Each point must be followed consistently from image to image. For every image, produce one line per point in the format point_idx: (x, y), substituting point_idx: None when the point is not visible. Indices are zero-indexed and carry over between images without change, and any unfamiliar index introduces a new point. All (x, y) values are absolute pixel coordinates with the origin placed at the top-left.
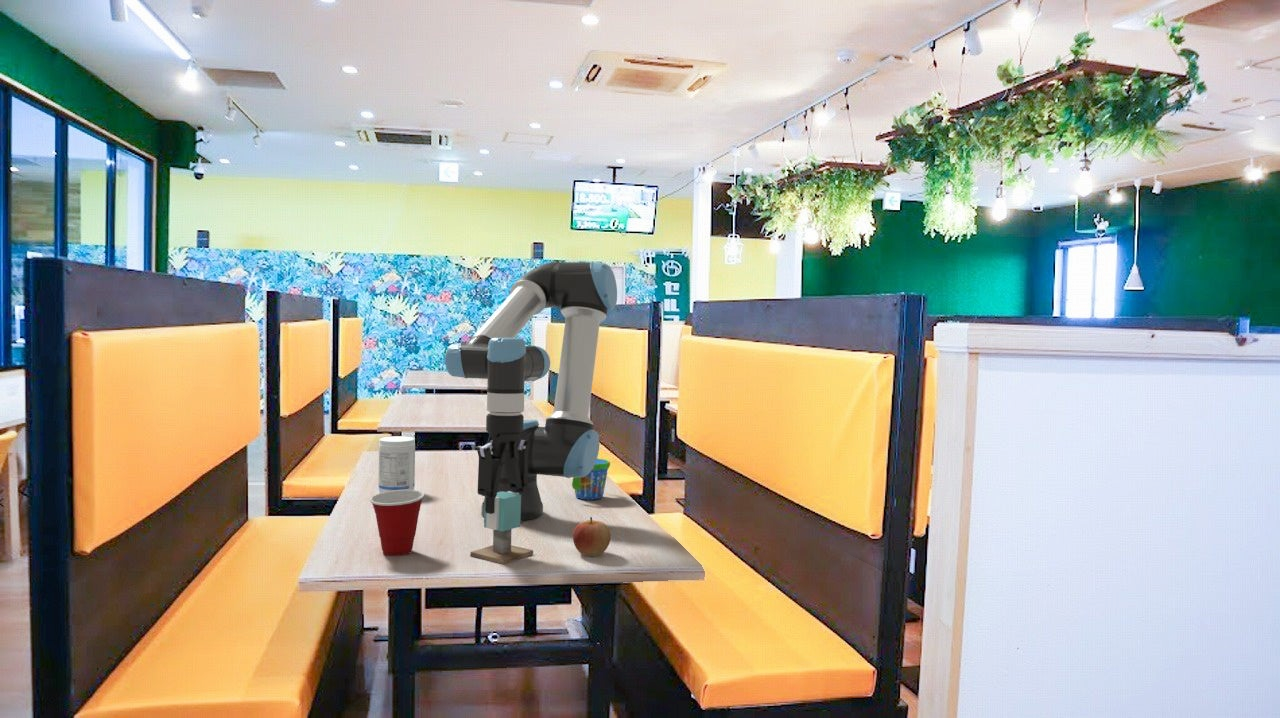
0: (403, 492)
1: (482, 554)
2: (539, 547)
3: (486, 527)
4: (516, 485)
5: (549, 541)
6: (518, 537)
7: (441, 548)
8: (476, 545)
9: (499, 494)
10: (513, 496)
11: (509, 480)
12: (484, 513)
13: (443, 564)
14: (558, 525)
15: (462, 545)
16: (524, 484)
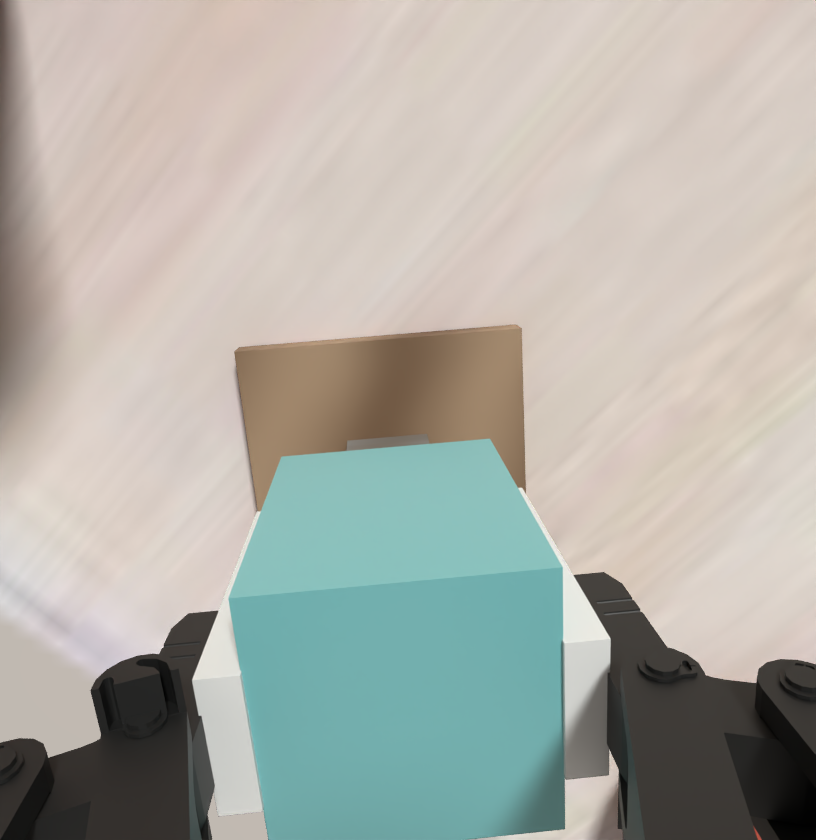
0: None
1: (256, 445)
2: (654, 501)
3: (257, 514)
4: (625, 830)
5: (795, 453)
6: (762, 242)
7: (206, 50)
8: (432, 181)
9: (398, 678)
10: (441, 836)
11: (633, 783)
12: (264, 504)
13: (6, 365)
14: None
15: (364, 105)
16: (761, 829)
